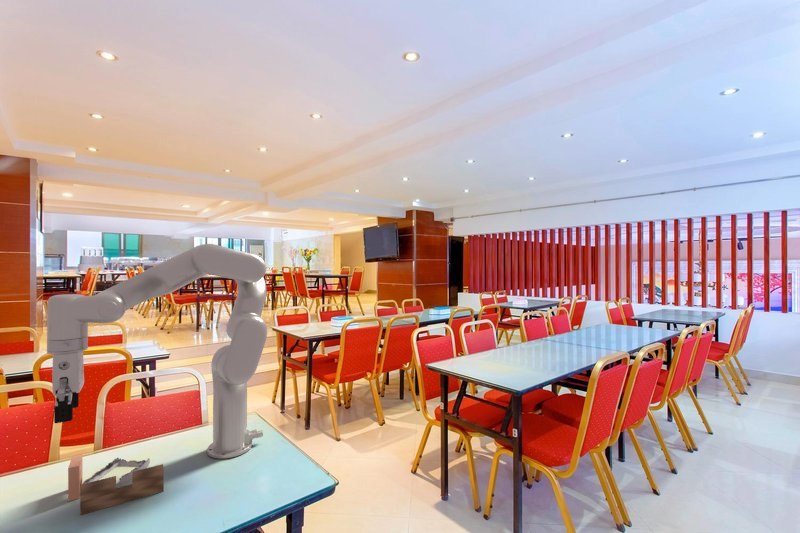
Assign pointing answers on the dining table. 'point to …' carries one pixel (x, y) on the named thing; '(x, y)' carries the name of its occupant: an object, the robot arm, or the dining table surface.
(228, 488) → the dining table surface
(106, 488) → the walnut base board
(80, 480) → the terracotta board
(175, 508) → the dining table surface
